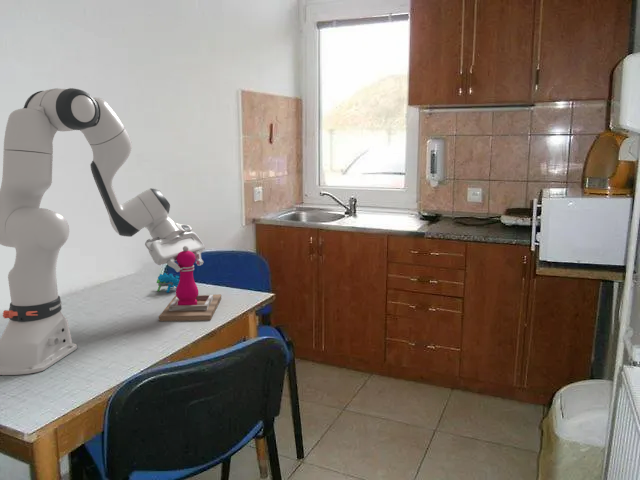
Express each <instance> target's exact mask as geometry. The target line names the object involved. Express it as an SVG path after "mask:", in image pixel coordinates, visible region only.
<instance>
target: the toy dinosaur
mask: <svg viewBox="0 0 640 480" xmlns="http://www.w3.org/2000/svg"><path fill="white" fill-rule="evenodd" d="M179 280H180V275H175V276H174V274H173V273H169V274H167V273H166V272H163V274H162V273H159V276H158V277H157V280H156V284H157V285H158V288H157V290H156V291H157V292H160V291H161V288H162V287H167V289H166V293H167V294H169V293H170V291H171V288H174V287H175V288H176V289H177V286H178V284H179Z"/></svg>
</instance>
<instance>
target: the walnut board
mask: <svg viewBox="0 0 640 480" xmlns="http://www.w3.org/2000/svg"><path fill="white" fill-rule="evenodd" d="M196 300H197V305H178V301H179V299H178V298H177V297H176V294H175V295H174V297H173V298H172V299H171V300H170V302H169V303H168V304H167V306H166V307H165V308H164V309H163V311H162V312H161V313H160V314H159V315H158V321H159V322H172V321H173V322H175V321H176V322H178V321H181V322H182V321H184V322H185V321H211V320H212V318H213V317H214V316H215V315H214V314H215V313H216V310H217V309H218V306H219V304H220V302H221V300H222V294H198V296H197V297H196Z"/></svg>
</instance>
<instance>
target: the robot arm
mask: <svg viewBox="0 0 640 480" xmlns="http://www.w3.org/2000/svg"><path fill="white" fill-rule="evenodd" d="M70 131H71V132H72V131H80V132H81V133H82V134H83V135H84V138H85V139H86V141H87V143H88V144H89V147H90V148H91V151H92V161H91V163H90V164H89V165H90V172H91V175H92V177H93V179H94V182H95V184H96V187H97V189H98V193H99V194H100V197H101V199H102V201H103V204H104V206H105V210H106V211H107V215H108V217H109V221H110V225H111V227H112V229H113V230H114V231H115V233H117V234H118V235H119V236H121V237H133V236H135V235H136V234H137V233H139V232H140V231H141V230H143V229H144V228H145V229H146V230H147V231H149V235H150V237H151V238H149V239H147V240H146V241H145V243H144V245H145V247H146V249H147V250H148V253H149V256H150V257H151V259H152V260H153V263H155V264H156V265H158V266H162V265H165V264H167V265H168V267H170V268H172V269H174V271H175V272H176V273H180V271H182V269H183V268H182V267H181V265H180V264H178V263H176V262H177V260H176V258H177V255H178V254H179V253H180V252H182V251H183V247H184V246H187V247H188V248H189V249H188V251H191V252H193V253H194V255H195V258H196V260H195V262H194V264H196V265H197V266H202V265H204V260H203V259H202V253H203V252H204V251H205V248H206V245H205V244H204V242H203V241H202V239H201V238H200V237H199V235H198V234H197V233H196V232H195V231H193V228H192V226H191V225H189V224H181V223H178V222H175V221H174V220H173V219H172V218H171V217H170V216H169V214H170V209H171V204H170V202H169V201H168V200H167V198H166V197H165V195H163V194H162V192H161V190H160V189H156V188H153V187H152V188H148V189H146V190H144V191H142V192H140V193H139V194H137V195H136V196H134V197H133V198H131V199H129V200H128V201H126V202H123V203H122V204H121V203H120V201H119V199H118V197H117V194H116V191H115V189H114V186H113V179H114V178H115V176H116V174H117V172H118V171H119V170H120V168H121V167H122V166H123V165H124V164H125V162H127V160H128V158H129V156H130V155H131V151H132V148H133V147H132V146H133V144H132V139H131V136H130V135H129V132H128V131H127V129H126V127H125V125H124V124H123V122H122V121H121V119H120V117H119V116H118V115H117V113H116V111H114V110H113V108H112V107H111V105H110V104H109V103H108V102H107V101H106V100H105V99H103V98H100V97H92V95H91V94H89V93H88V92H86V91H84V90H82V89H79V88H75V87H74V88H73V87H72V88H71V87H69V88H58V87H57V88H52V89H51V88H50V89H45V90H39V91H36V92H35V93H33V94H31V95H30V96H29V97H28V98H27V100H26V101H25V103H24V105H23V107H22V108H18V109H15V110H13V111H12V112H11V113H10V114H9V115H8V119H7V122H6V127H5V131H4V139H3V140H4V141H3V157H2V158H3V160H2V162H3V163H2V179H1V186H0V245H1V246H4V247H7V248H14V249H15V258H14V260H15V261H14V264H13V267H12V268H11V269H10V270H9V272H8V274H7V281H8V286H9V294H10V303H9V308H8V309H7V310H3V312H2V318H3V319H8V320H9V321H8V323H7V325H6V327H5V329H4V330H3V333H2V334H1V336H0V376H1V375H2V376H14V375H15V376H16V375H28V374H33V373H34V374H35V373H40V372H43V371H45V370H47V369H48V368H50V367H51V366H53V365H54V364H56V363H58V362H59V361H61V360H62V359H63V358H65V357H66V356H68V355H69V354H71V353H73V352H74V351H76V350H77V349H78V346H77V343H74V342H73V339H72V335H71V329H70V325H69V320H68V319H67V317H65V316H64V314H63V313H62V309H63V307H62V300H61V296H60V295H59V289H58V280H57V279H58V278H57V262H58V257H59V254H60V250H61V248H62V247H63V246H64V245H65V244H66V242H67V241H68V239H69V236H70V226H69V223H68V220H67V219H66V218H65V217H64V216H63V215H62V214H60V213H57V212H56V211H53V210H51V209H48V208H42V207H41V208H40V205H41V202H42V199H43V197H44V195H45V193H46V192H47V191H48V190H49V189H50V187H51V185H52V183H53V181H52V180H53V157H54V156H53V155H54V154H53V152H54V151H53V150H54V149H53V147H54V146H53V145H54V144H53V141H54V138H55V135H56V133H57V132H70Z"/></svg>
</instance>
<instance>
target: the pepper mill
mask: <svg viewBox="0 0 640 480" xmlns="http://www.w3.org/2000/svg"><path fill="white" fill-rule="evenodd" d="M188 249H189V248H188V247H187V246H184V247H183V251H182V252H180V253H179V254H178V255H177V258H176V262H177V264H178V265H179V264H180V265H181V267H182V268H183V269H182V271H180V272H179V284H178V286H177V288H176V289H175V295H176V297H177V298H178V299H179V301H178V305H197V300H196V297H197V296H198V295H199V288H198V285H197V283H196V282H195V279H194V278H195V277H194V271H195V265H194V264H195V262H196V261H197V260H196V258H195V255H194V253H193V252H191V251H188Z"/></svg>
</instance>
